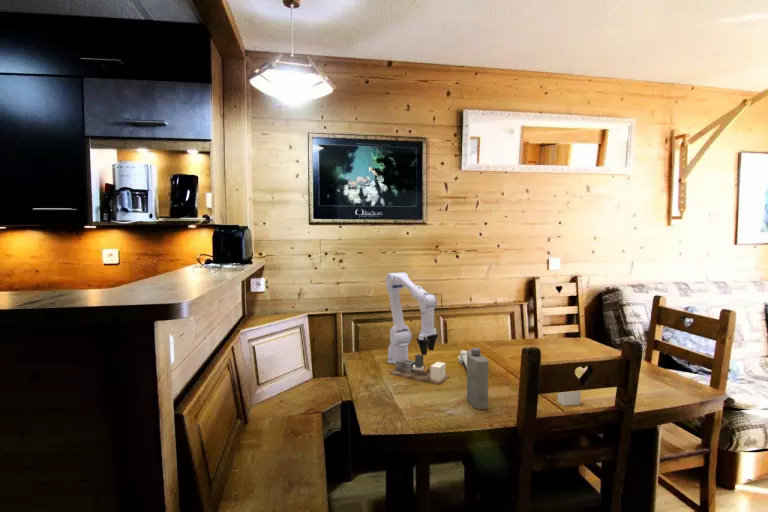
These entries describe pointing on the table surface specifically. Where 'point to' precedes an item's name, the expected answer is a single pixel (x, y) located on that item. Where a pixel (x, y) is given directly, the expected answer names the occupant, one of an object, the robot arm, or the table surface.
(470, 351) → the flask
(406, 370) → the track base
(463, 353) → the toothbrush head
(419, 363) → the dark grey angular piece
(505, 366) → the table surface
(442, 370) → the socket block
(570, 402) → the light grey block
